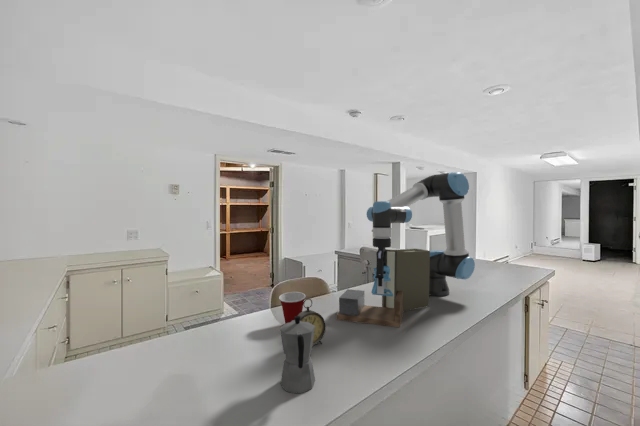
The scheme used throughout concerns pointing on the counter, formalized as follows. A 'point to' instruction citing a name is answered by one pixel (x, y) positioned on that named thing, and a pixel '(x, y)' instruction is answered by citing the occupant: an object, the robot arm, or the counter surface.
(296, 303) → the plastic cup
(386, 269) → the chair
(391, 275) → the book
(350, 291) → the gray block
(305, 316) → the alarm clock
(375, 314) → the wooden l-shaped stand
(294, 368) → the coffeepot
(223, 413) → the counter surface
